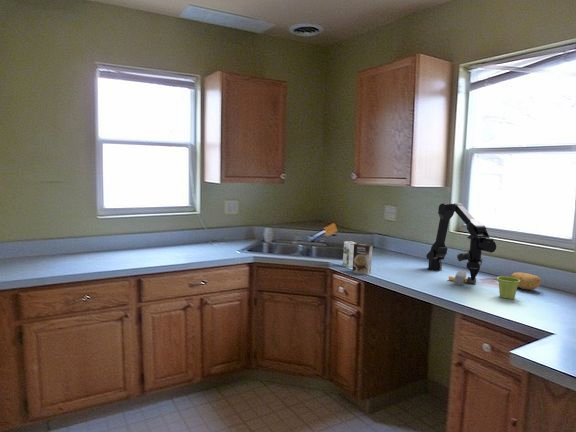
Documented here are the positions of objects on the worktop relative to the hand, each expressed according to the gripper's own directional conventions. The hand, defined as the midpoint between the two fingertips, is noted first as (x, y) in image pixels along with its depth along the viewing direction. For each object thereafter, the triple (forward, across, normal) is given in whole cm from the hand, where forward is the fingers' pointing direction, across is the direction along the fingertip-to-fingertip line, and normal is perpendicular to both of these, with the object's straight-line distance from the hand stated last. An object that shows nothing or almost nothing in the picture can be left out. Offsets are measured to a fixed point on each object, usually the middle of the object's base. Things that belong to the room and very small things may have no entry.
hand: (473, 278), depth 212 cm
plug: (+3, 0, -5) cm, 6 cm away
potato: (+3, -5, +23) cm, 24 cm away
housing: (+3, 0, -6) cm, 7 cm away
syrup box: (+3, 0, -67) cm, 67 cm away
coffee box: (+3, +12, -56) cm, 57 cm away
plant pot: (+3, +16, +16) cm, 23 cm away
